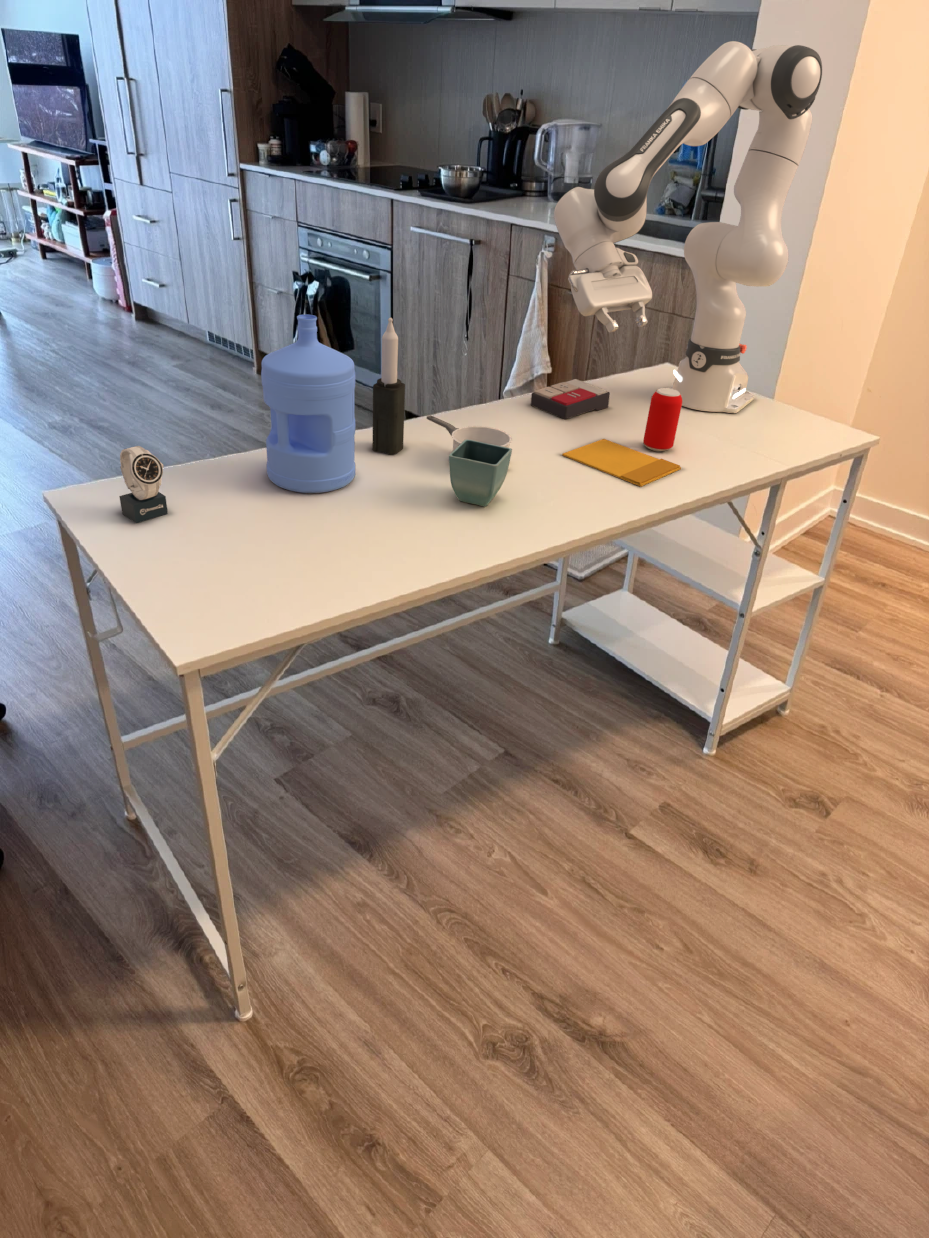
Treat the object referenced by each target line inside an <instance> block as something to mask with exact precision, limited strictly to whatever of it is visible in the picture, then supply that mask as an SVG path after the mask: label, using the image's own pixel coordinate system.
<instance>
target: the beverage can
mask: <svg viewBox="0 0 929 1238" xmlns="http://www.w3.org/2000/svg"><path fill="white" fill-rule="evenodd" d="M669 388H670V387H660V388H657V389H656V390H655V391H654V392H653V394H652V395H651V397H650V404H649V409H648V414H647V418H646V424H645V428H644V429H645V431H644V435H643V439H642V440H643V445H644V446H645V447H646V448H647V449H648V450H650V451H653V452H666V451H668V450H670V449H672V448H673V447H674V444H675V438H676V435H677V429H678V425H679V420H680V415H681V410H682V407H683V406H682V397H681V394H680V393H679V392H678V391H677V390H674V389H669Z"/></svg>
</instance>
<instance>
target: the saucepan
mask: <svg viewBox="0 0 929 1238" xmlns="http://www.w3.org/2000/svg"><path fill="white" fill-rule="evenodd" d="M425 419H426V420H428V421H430V422H432V423H433V424H436V425H438V426H440V427H442V428H445V430H446V431H447V432H448V434H449V435H450V437H451V438H452V452H453V451H454V450H455V449H456V448H457V447H458V446H459V445H460V444H461V443H462V442H463V441H464V440H465V439H468V440H474V441H479V442H483V443H487V444H492V445H497V446H502V447H507V448H510V445H511V443H512V441H513V437H512V436H511V435H510V433H509V432H506V431H504V430H502V429H499V428H496V427H491V426H482V425H473V426H472V425H469V426H463V427H456V426H455V425H453V424H452V423H450V422H447V421H444V420H443V419H440V418H438V417H436V416H434V415H431V414H429V415H426V418H425Z"/></svg>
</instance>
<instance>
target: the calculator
mask: <svg viewBox="0 0 929 1238" xmlns="http://www.w3.org/2000/svg"><path fill="white" fill-rule="evenodd" d="M610 395H611V392H610V391H608V389H604V388H601V387H599V386H596V385H594V384H591V383H587V382H586V381H583V380H579V379H577V378H574V379H571V380H568V381H562V382H559V383H558V382H557V383H556V384H552V385H550V386H545V387H543V388H540V389H535V390H534V391H533V392H531V396H530V397H531V398H530V406H531V407H534V408H536V409H538V410H541V411H544V412H546V413H549V414H551V415H552V416H555V417H558V418H561V419H562V420H568V419H571V418H573V417H577V416H580V415H583V414H585V413H588V412H591V411H594V410H595V411H597V412H599V411H601V410H604V409H608V408H609V404H610V398H611V397H610Z"/></svg>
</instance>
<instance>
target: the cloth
mask: <svg viewBox="0 0 929 1238" xmlns="http://www.w3.org/2000/svg"><path fill="white" fill-rule="evenodd" d="M561 455H562V457H564V458H568V459H570V460H572V461H574V462H578V463H580V464H582V465H585V466H588V467H591V468H593V469H594V470H598V471H599V472H603V473H605V474H607V475H611V476H612V477H615V478H618V479H620V480H623V481H625V482H627V483H631V484H633V485H635V486H637V487H640V488H641V487H644V486H647V485H648V484H650V483H653V482H655V481H657V480H659V479H662V478H664V477H666V476H669V475H672V474H673V473H675V472H678V471H680V470H681V469H682V467H681V465H680V464H677V463H675V462H672V461H669V460H666V459H665V458H657V457H654V456H651V455H649V454H646V453H644V452H640V451H638V450H635V449H633V448H630V447H628V446H624V445H622V444H619V443H616V442H613V441H612V440H608V439H606V438H601V439H598V440H597V441H594V442H590V443H588V444H585V445H583V446H579V447H576V448H574V449H571V450H568V451H566V452H563V453H562V454H561Z"/></svg>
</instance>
